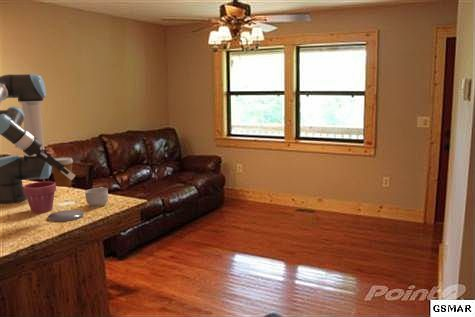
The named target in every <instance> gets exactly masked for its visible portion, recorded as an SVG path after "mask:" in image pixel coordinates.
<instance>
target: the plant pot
mask: <svg viewBox="0 0 475 317" xmlns="http://www.w3.org/2000/svg"><path fill="white" fill-rule="evenodd" d="M23 191H24V194H25V195H26V197H27V199H26V201H27V203H28V206H29V208H30V211H31V212H32V213H35V214H39V213H40V214H41V213H42V214H43V213H48V212H51V211H52V210H53V207H54V199H55V192H57V186H56V184H55V181H39V182H30V183H27V184H25V185H23Z"/></svg>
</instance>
